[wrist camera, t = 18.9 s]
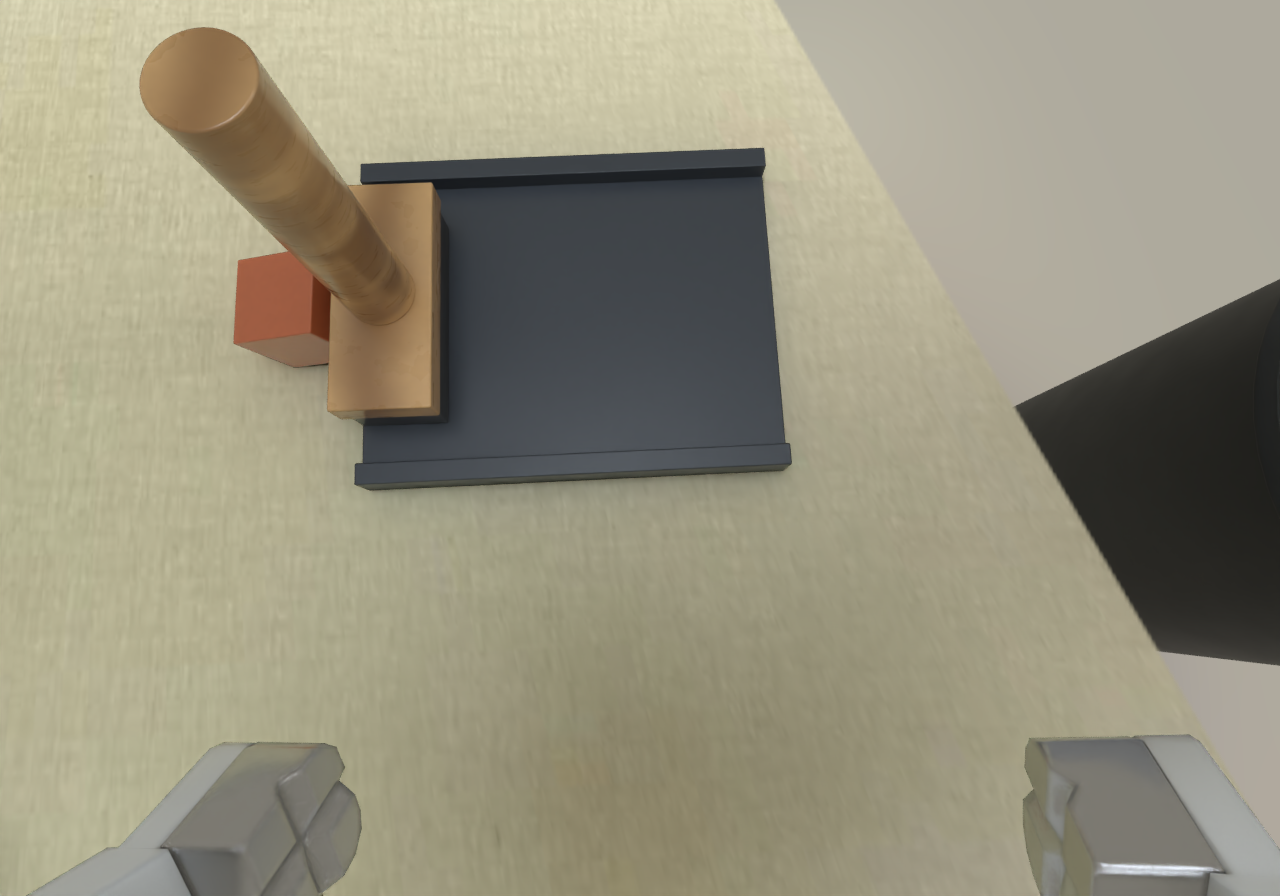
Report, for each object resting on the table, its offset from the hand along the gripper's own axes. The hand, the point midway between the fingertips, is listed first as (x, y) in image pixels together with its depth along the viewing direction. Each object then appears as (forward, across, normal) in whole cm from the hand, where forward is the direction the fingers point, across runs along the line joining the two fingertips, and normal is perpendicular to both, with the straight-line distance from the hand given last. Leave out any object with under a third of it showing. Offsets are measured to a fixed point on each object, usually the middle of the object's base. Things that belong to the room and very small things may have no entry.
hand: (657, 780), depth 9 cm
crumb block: (+27, +20, -2) cm, 34 cm away
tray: (+30, +8, 0) cm, 31 cm away
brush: (+27, +16, -1) cm, 32 cm away
